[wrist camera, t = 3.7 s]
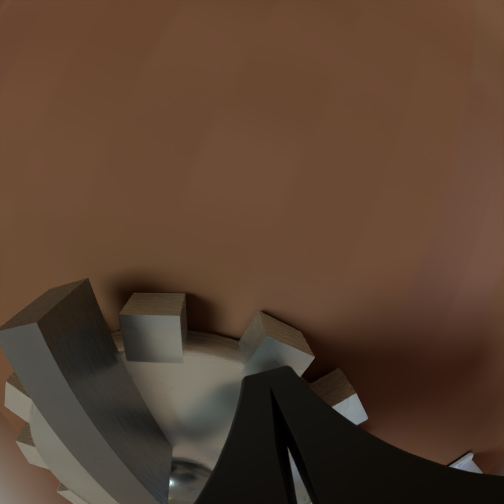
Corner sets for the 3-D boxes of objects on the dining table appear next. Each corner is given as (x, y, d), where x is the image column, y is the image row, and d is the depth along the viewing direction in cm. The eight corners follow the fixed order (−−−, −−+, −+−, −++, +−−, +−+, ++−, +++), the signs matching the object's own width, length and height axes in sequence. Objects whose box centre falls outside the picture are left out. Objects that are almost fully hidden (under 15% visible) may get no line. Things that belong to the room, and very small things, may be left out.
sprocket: (326, 203, 10) (410, 223, 5) (355, 488, 14) (380, 542, 9) (-37, 308, 9) (-99, 351, 4) (121, 523, 13) (114, 572, 9)
